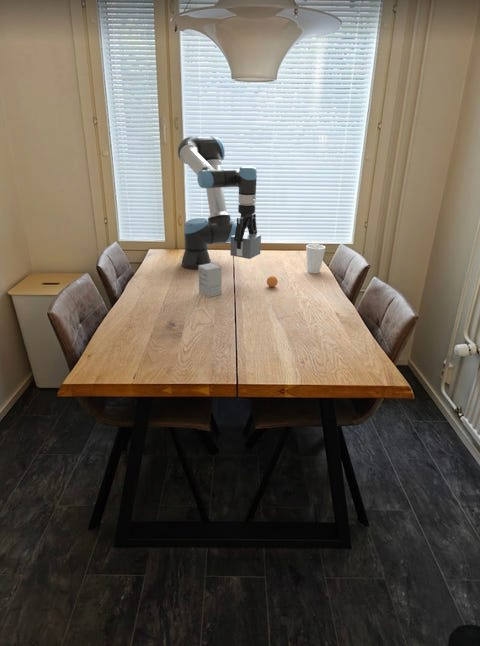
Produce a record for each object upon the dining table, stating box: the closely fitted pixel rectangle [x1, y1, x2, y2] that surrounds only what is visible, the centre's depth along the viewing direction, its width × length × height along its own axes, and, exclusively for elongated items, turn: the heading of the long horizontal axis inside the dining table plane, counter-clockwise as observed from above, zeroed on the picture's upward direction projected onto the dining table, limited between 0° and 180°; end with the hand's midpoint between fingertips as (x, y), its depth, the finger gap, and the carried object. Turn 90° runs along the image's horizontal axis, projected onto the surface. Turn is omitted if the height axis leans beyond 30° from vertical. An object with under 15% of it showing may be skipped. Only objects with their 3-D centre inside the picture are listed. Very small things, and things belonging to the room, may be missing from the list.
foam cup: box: [305, 243, 326, 274], centre depth 222 cm, size 10×9×13 cm
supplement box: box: [198, 262, 222, 298], centre depth 190 cm, size 7×7×13 cm
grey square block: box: [229, 232, 262, 260], centre depth 202 cm, size 10×10×9 cm
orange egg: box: [266, 275, 278, 288], centre depth 201 cm, size 5×5×5 cm
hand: (245, 252), depth 203 cm, fingers closed on grey square block, 10 cm apart
